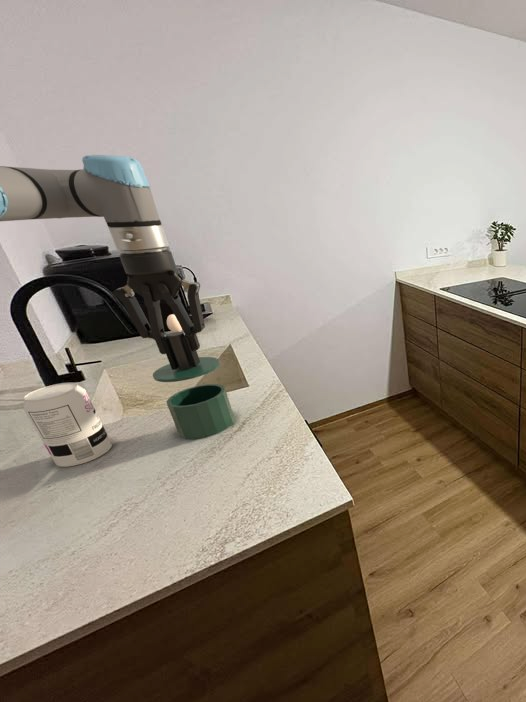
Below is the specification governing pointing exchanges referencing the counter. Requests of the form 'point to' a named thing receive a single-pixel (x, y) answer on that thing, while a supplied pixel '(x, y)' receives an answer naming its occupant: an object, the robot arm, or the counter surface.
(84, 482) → the counter surface
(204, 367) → the lid
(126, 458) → the counter surface
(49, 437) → the supplement can
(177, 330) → the egg
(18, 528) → the counter surface
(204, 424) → the pot
